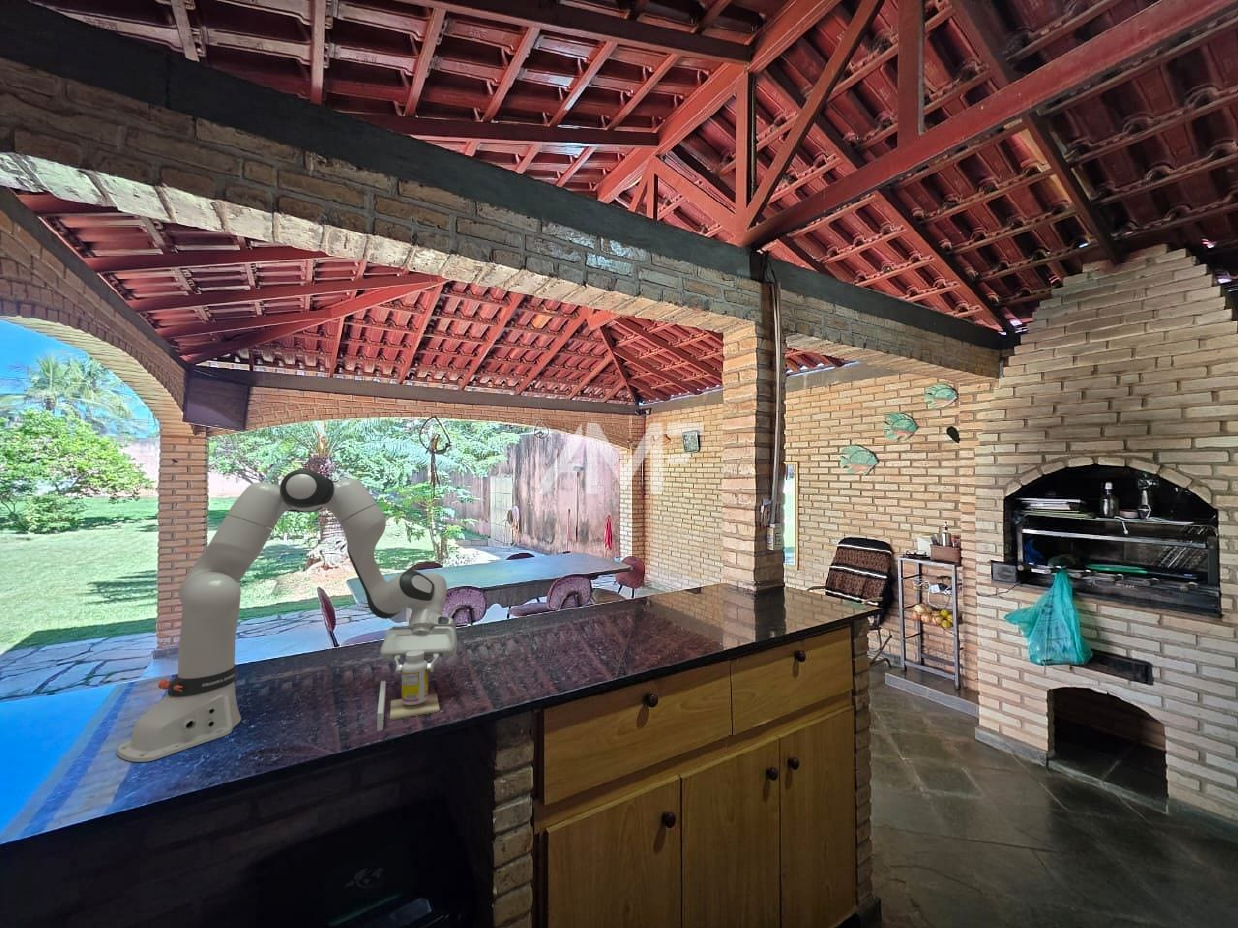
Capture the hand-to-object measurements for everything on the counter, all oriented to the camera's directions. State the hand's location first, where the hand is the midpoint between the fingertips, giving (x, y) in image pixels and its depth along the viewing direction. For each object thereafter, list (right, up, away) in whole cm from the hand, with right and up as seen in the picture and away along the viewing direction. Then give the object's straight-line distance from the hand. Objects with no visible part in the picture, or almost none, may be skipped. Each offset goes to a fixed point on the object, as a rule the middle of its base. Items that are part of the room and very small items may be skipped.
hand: (414, 671), depth 133 cm
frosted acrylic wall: (-7, -10, -3) cm, 13 cm away
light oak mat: (0, -10, 0) cm, 10 cm away
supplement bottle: (0, -8, 0) cm, 8 cm away
